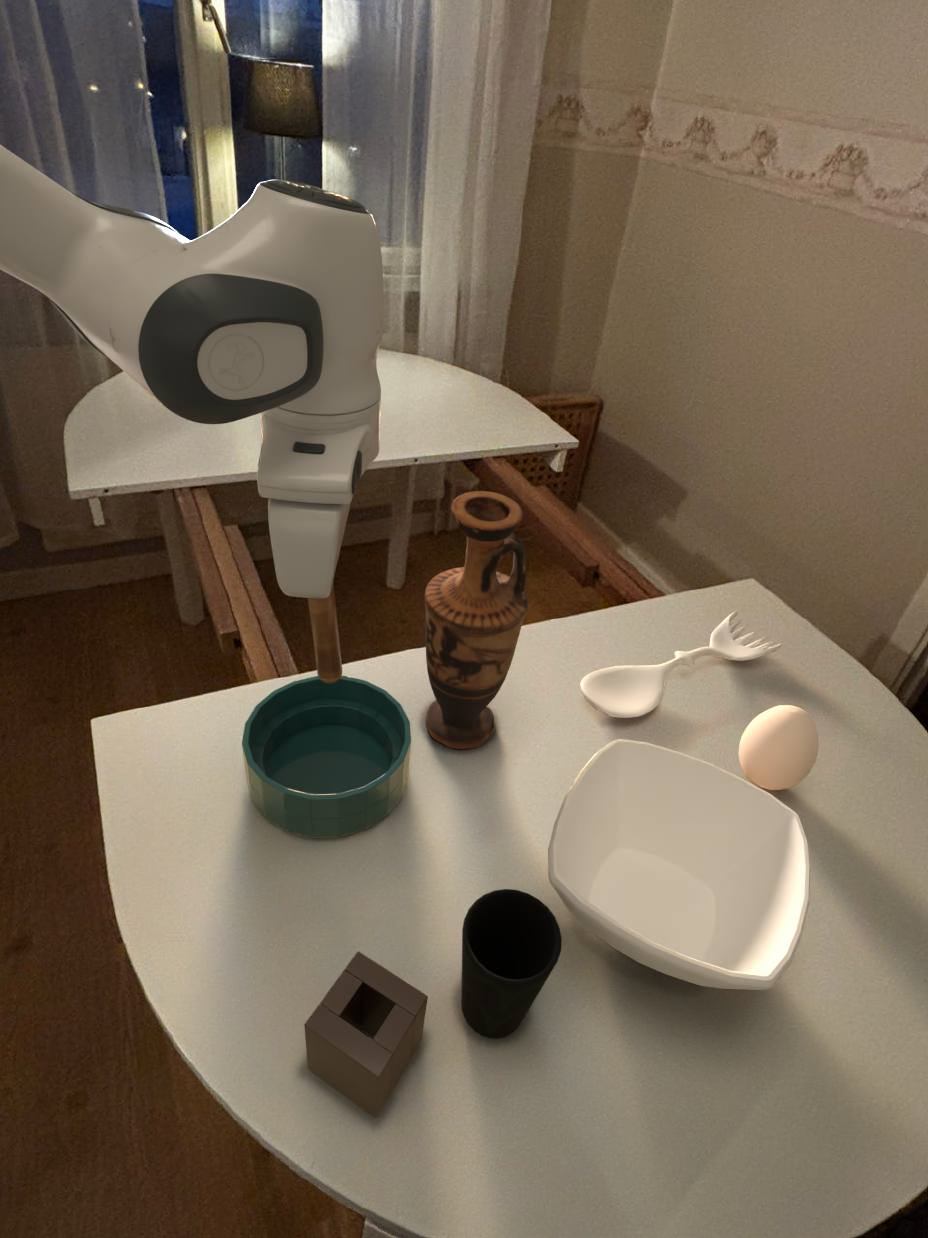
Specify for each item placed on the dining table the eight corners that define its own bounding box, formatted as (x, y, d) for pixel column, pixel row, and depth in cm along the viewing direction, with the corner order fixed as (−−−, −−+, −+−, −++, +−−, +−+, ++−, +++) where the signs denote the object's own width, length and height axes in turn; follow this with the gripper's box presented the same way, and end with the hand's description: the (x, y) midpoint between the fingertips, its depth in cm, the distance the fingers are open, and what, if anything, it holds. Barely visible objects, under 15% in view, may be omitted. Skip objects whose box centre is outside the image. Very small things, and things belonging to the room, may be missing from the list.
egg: (767, 818, 83) (806, 750, 76) (713, 769, 88) (745, 701, 81) (809, 790, 87) (850, 723, 80) (755, 744, 92) (789, 678, 85)
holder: (375, 1119, 56) (378, 1078, 51) (307, 1068, 59) (303, 1024, 54) (421, 1040, 61) (428, 996, 56) (356, 996, 63) (357, 950, 58)
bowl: (743, 1084, 61) (796, 1022, 54) (501, 954, 67) (519, 883, 60) (779, 876, 77) (824, 807, 70) (581, 787, 84) (603, 716, 76)
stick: (333, 692, 71) (314, 528, 60) (313, 683, 72) (291, 520, 61) (348, 677, 73) (332, 515, 61) (328, 668, 74) (309, 508, 62)
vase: (412, 755, 85) (430, 534, 66) (416, 689, 93) (433, 476, 75) (505, 761, 86) (550, 543, 67) (501, 695, 94) (539, 486, 75)
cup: (488, 1073, 60) (508, 1006, 52) (431, 996, 64) (442, 924, 56) (555, 1013, 64) (582, 943, 56) (497, 944, 68) (515, 871, 61)
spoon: (777, 661, 105) (786, 643, 103) (608, 738, 90) (615, 718, 88) (729, 625, 111) (737, 607, 109) (563, 691, 96) (568, 672, 94)
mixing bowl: (345, 871, 72) (344, 828, 68) (213, 791, 78) (205, 747, 74) (435, 759, 85) (440, 717, 80) (316, 698, 90) (315, 655, 86)
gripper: (302, 373, 64) (307, 512, 73) (250, 488, 48) (264, 648, 57) (375, 380, 64) (372, 517, 73) (347, 496, 48) (347, 654, 57)
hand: (325, 575), depth 65 cm, fingers closed on stick, 2 cm apart
